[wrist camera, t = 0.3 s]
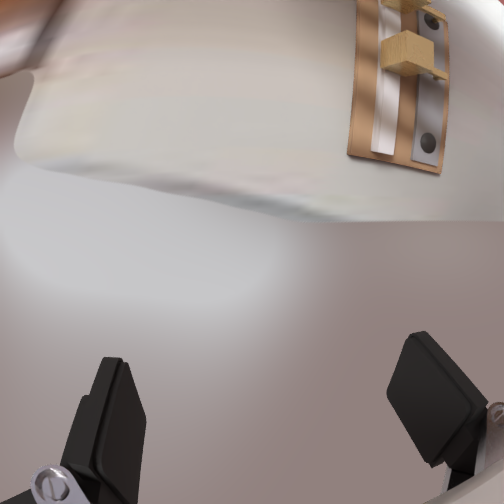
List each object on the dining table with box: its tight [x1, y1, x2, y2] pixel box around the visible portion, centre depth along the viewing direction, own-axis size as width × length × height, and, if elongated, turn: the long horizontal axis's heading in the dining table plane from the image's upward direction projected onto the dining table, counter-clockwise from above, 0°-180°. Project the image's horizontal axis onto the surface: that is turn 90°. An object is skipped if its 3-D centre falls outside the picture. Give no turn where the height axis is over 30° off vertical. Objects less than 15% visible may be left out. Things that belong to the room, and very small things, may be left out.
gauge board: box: [347, 0, 449, 174], centre depth 32 cm, size 26×16×3 cm, turn 175°
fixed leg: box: [381, 0, 446, 23], centre depth 24 cm, size 4×10×7 cm, turn 85°
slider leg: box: [380, 30, 448, 81], centre depth 28 cm, size 4×10×7 cm, turn 85°
